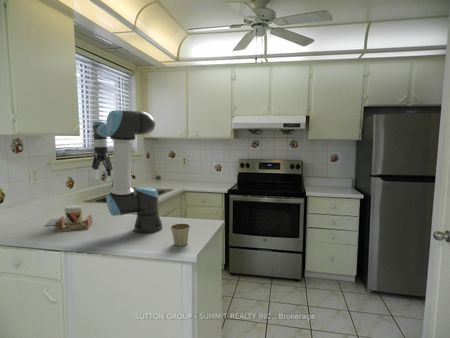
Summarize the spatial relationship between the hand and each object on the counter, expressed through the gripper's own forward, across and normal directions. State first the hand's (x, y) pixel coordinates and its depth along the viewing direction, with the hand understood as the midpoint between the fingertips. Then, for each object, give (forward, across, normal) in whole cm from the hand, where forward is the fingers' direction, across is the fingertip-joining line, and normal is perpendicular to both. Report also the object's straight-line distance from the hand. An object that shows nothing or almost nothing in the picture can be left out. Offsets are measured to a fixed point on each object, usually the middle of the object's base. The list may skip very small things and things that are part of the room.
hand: (102, 180), depth 187 cm
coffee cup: (+24, -5, +21) cm, 32 cm away
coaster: (+24, +12, +22) cm, 35 cm away
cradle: (+24, -5, +21) cm, 32 cm away
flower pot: (+24, -74, +4) cm, 78 cm away
